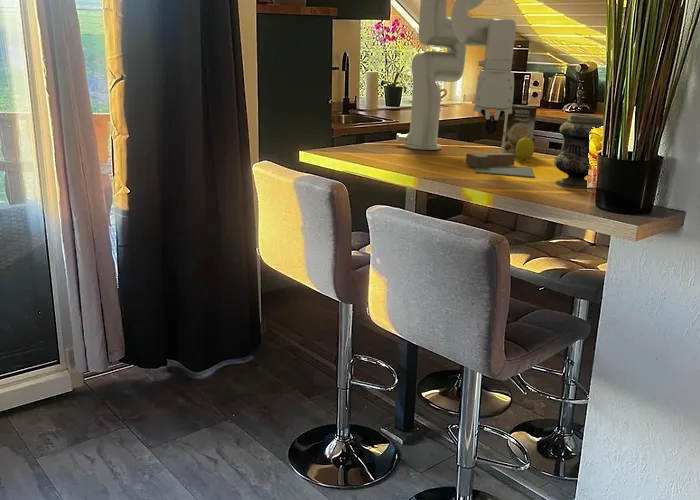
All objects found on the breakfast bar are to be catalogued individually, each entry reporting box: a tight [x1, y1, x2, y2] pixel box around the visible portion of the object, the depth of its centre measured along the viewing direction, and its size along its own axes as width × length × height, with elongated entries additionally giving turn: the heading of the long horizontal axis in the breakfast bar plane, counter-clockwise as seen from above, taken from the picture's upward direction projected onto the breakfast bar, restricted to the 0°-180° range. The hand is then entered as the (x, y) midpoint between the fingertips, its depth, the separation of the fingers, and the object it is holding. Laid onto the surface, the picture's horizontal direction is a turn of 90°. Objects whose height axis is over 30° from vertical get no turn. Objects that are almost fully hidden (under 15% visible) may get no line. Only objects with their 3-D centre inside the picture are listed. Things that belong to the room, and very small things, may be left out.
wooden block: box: [465, 152, 516, 169], centre depth 199 cm, size 7×3×15 cm
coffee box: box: [500, 104, 538, 157], centre depth 225 cm, size 9×6×16 cm
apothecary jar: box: [553, 113, 604, 189], centre depth 175 cm, size 12×12×18 cm
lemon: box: [515, 136, 535, 163], centre depth 212 cm, size 6×6×8 cm
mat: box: [474, 165, 536, 179], centre depth 194 cm, size 16×16×1 cm
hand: (490, 133), depth 192 cm, fingers closed
